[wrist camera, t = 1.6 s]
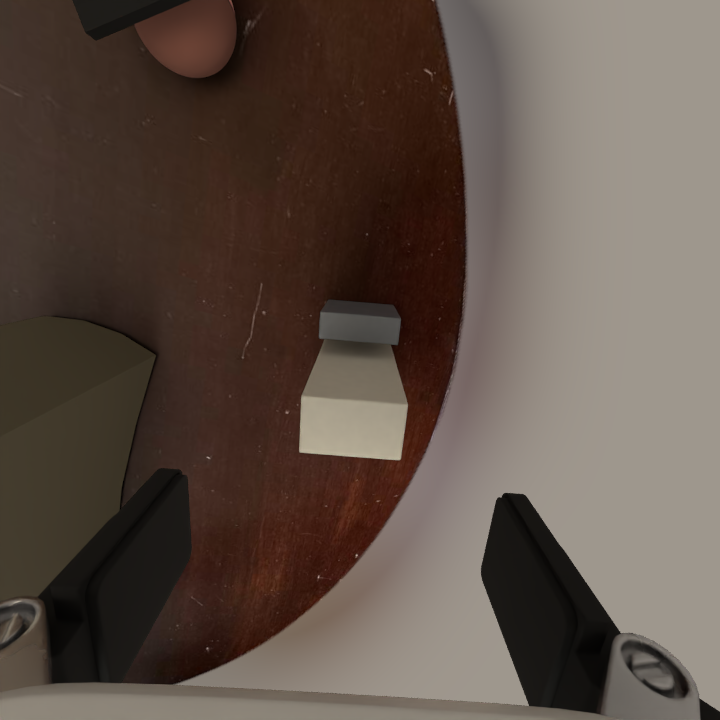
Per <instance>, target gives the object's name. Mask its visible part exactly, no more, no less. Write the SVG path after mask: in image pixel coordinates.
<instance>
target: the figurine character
mask: <svg viewBox="0 0 720 720" xmlns="http://www.w3.org/2000/svg"><path fill="white" fill-rule="evenodd" d="M73 3H74V5H75V8H76V10H77V13H78V15H79V18H80V20H81V23H82V25H83V28H84V30H85V32H86V33H87V34H88V35H89V36H91V37H92V38H93V39H95V40H99V39H101V38H103V37H106V36H108V35H110V34H113V33H115V32H117V31H120V30H122V29H125V28H127V27H129V26H132V25H134V26H135V28H136V31H137V33H138V35H139V36H140V38H141V40H142V42H143V43H144V45H145V46H146V48H147V49H148V50H149V51H150V53H151V54H152V55H153V56H154V57H155V58H156V59H157V60H158V61H159V62H160V63H161V64H163V65H164V66H165V67H167V68H168V69H170V70H171V71H173V72H175V73H177V74H180V75H182V76H186V77H190V78H204V77H208V76H211V75H213V74H215V73H217V72H219V71H220V70H221V69H222V68H223V67H224V66H225V65H226V64H227V62H228V61H229V59H230V57H231V55H232V53H233V50H234V47H235V43H236V35H237V25H236V17H235V11H234V8H233V4H232V1H231V0H73Z"/></svg>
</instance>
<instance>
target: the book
mask: <svg viewBox="0 0 720 720" xmlns="http://www.w3.org/2000/svg"><path fill="white" fill-rule="evenodd" d="M155 357H156V355H155V354H153V353H152V352H150V351H148V350H147V349H145V348H143V347H142V346H140V345H139V344H137V343H135V342H134V341H132V340H130V339H129V338H127V337H126V336H124V335H122V334H121V333H118V332H115V331H112V330H109V329H106V328H104V327H101V326H98V325H95V324H92V323H89V322H87V321H84V320H76V319H67V318H58V317H50V316H41V317H36V318H31V319H27V320H22V321H17V322H13V323H8V324H3V325H0V601H3V600H6V599H9V598H13V597H18V596H26V595H28V596H35V597H38V596H39V595H40V593H41V592H42V591H43V590H44V589H45V588H46V587H47V586H48V585H49V584H50V583H51V582H52V581H53V580H54V578H55V577H56V576H57V575H58V574H59V573H60V572H61V571H62V570H63V569H64V568H65V567H66V566H67V565H68V563H69V562H70V561H71V560H72V559H73V558H74V557H75V556H76V555H77V554H78V553H79V552H80V551H81V549H82V548H83V547H84V546H85V545H86V544H87V543H88V542H89V541H90V540H91V539H92V538H93V537H94V536H95V534H96V533H97V532H98V531H99V530H100V529H101V528H102V527H103V526H104V525H105V524H106V523H107V522H108V521H109V519H110V518H112V517H113V516H114V515H116V514H117V513H118V512H119V511H120V500H121V489H122V484H123V480H124V475H125V471H126V466H127V462H128V458H129V453H130V449H131V444H132V440H133V435H134V431H135V427H136V423H137V419H138V416H139V412H140V409H141V405H142V402H143V398H144V395H145V392H146V388H147V385H148V381H149V378H150V374H151V371H152V367H153V364H154V360H155Z"/></svg>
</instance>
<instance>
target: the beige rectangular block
mask: <svg viewBox="0 0 720 720" xmlns="http://www.w3.org/2000/svg"><path fill="white" fill-rule="evenodd" d="M407 409H408V403H407V400H406V396H405V393H404V389H403V386H402V382H401V379H400V375H399V372H398V368H397V365H396V361H395V358H394V355H393V351H392V348H391V345H390V344H378V343H366V342H354V341H342V340H330V339H325V340H324V342H323V345H322V347H321V350H320V352H319V355H318V357H317V359H316V362H315V364H314V367H313V369H312V372H311V374H310V377H309V379H308V381H307V384H306V386H305V389H304V391H303V394H302V396H301V417H300V442H299V452H301V453H313V454H326V455H339V456H352V457H364V458H377V459H390V460H400V459H401V454H402V446H403V439H404V431H405V424H406V416H407Z"/></svg>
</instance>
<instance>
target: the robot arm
mask: <svg viewBox="0 0 720 720" xmlns="http://www.w3.org/2000/svg"><path fill="white" fill-rule="evenodd" d="M191 548H192V546H191V529H190V511H189V494H188V479H187V476H186V475H182V472H181V470H179V469H165V468H160V469H158V470H157V471H156V472H155V473H154V474H153V475H152V476H151V477H150V478H149V479H148V481H147V482H146V483H145V484H144V485H143V486H142V487H141V488H140V489H139V490H138V491H137V492H136V494H135V495H134V496H133V497H132V498H131V499H130V500H129V501H128V502H127V503H126V504H125V505H124V507H123V508H122V509H121V510H120V511H119V512H118V513H117V514H116V515H114V516H113V517H112V518H110V519H109V521H108V522H107V523H106V524H105V525H104V526H103V527H102V528H101V529H100V530H99V531H98V532H97V533H96V534H95V536H94V537H93V538H92V539H91V540H90V541H89V542H88V543H87V544H86V545H85V546H84V547H83V548H82V549H81V551H80V552H79V553H78V554H77V555H76V556H75V557H74V558H73V559H72V560H71V561H70V562H69V563H68V565H67V566H66V567H65V568H64V569H63V570H62V571H61V572H60V573H59V574H58V575H57V576H56V577H55V578H54V580H53V581H52V582H51V583H50V584H49V585H48V586H47V587H46V588H45V589H44V590H43V591H42V592H41V593H40V595H39V596H38V597H35V596H28V595H26V596H18V597H13V598H9V599H6V600H3V601H0V720H720V712H719V711H718V710H716V709H715V708H713V707H711V706H710V705H709V704H707V703H705V702H704V701H702V700H701V699H699V693H698V690H697V686H696V683H695V682H694V680H693V678H692V676H691V675H690V673H689V672H688V670H687V669H686V668H685V667H684V666H683V665H682V664H681V662H680V661H679V660H678V659H677V658H676V657H674V656H673V655H672V654H671V653H670V652H669V651H668V650H666V649H665V648H663V647H662V646H660V645H659V644H657V643H656V642H654V641H652V640H650V639H648V638H646V637H644V636H641V635H637V634H633V633H620V631H619V630H618V628H617V627H616V626H615V624H614V623H613V621H612V620H611V618H610V617H609V615H608V614H607V612H606V611H605V610H604V608H603V607H602V605H601V604H600V602H599V601H598V599H597V598H596V596H595V595H594V593H593V592H592V591H591V589H590V588H589V586H588V585H587V583H586V582H585V580H584V579H583V577H582V576H581V575H580V573H579V572H578V570H577V569H576V567H575V566H574V564H573V563H572V561H571V560H570V559H569V557H568V555H567V554H566V553H565V551H564V550H563V549H562V547H561V546H560V545H559V544H558V542H557V541H556V539H555V538H554V536H553V535H552V533H551V532H550V530H549V529H548V528H547V526H546V525H545V523H544V522H543V520H542V519H541V517H540V516H539V514H538V513H537V511H536V510H535V508H534V507H533V505H532V504H531V503H530V501H529V500H528V498H527V497H526V496H525V495H524V494H513V493H504V494H503V495H502V498H500V497H499V498H497V500H496V504H495V508H494V513H493V517H492V522H491V526H490V530H489V535H488V539H487V544H486V549H485V553H484V558H483V562H482V566H481V576H482V581H483V584H484V586H485V589H486V591H487V594H488V597H489V599H490V602H491V605H492V608H493V610H494V613H495V616H496V618H497V621H498V624H499V626H500V629H501V632H502V634H503V637H504V639H505V642H506V645H507V648H508V650H509V653H510V656H511V658H512V661H513V664H514V666H515V669H516V672H517V674H518V677H519V680H520V682H521V685H522V688H523V690H524V693H525V695H526V698H527V701H528V704H529V706H522V705H510V704H498V703H483V702H467V701H451V700H435V699H418V698H404V697H387V696H369V695H352V694H336V693H335V694H334V693H318V692H299V691H282V690H262V689H243V688H223V687H203V686H183V685H182V686H181V685H163V684H130V683H122V681H123V679H124V677H125V675H126V674H127V672H128V670H129V668H130V666H131V664H132V663H133V661H134V659H135V657H136V655H137V654H138V652H139V650H140V648H141V646H142V645H143V643H144V641H145V639H146V637H147V635H148V634H149V632H150V630H151V628H152V626H153V625H154V623H155V621H156V619H157V617H158V616H159V614H160V612H161V610H162V608H163V606H164V605H165V603H166V601H167V599H168V597H169V596H170V594H171V592H172V590H173V588H174V587H175V585H176V583H177V581H178V579H179V577H180V576H181V574H182V572H183V570H184V568H185V567H186V565H187V563H188V561H189V558H190V555H191Z"/></svg>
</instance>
